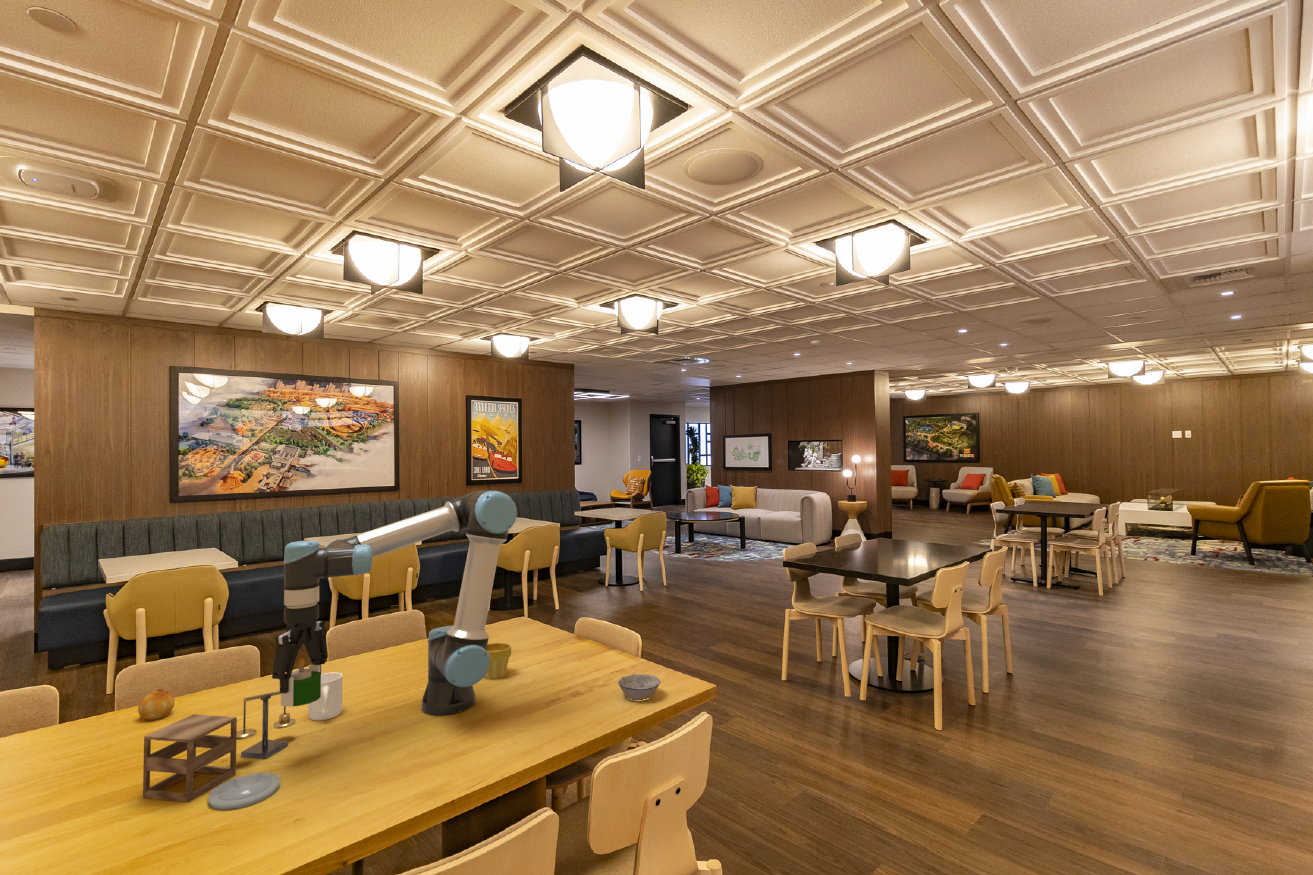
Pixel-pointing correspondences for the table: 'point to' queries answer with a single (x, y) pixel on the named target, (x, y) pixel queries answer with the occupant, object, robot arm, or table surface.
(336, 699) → the mug
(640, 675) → the bowl
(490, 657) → the plant pot
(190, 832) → the table surface
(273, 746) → the balance
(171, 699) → the brown onion
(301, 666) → the candle
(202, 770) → the crate
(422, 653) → the table surface
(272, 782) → the dish
